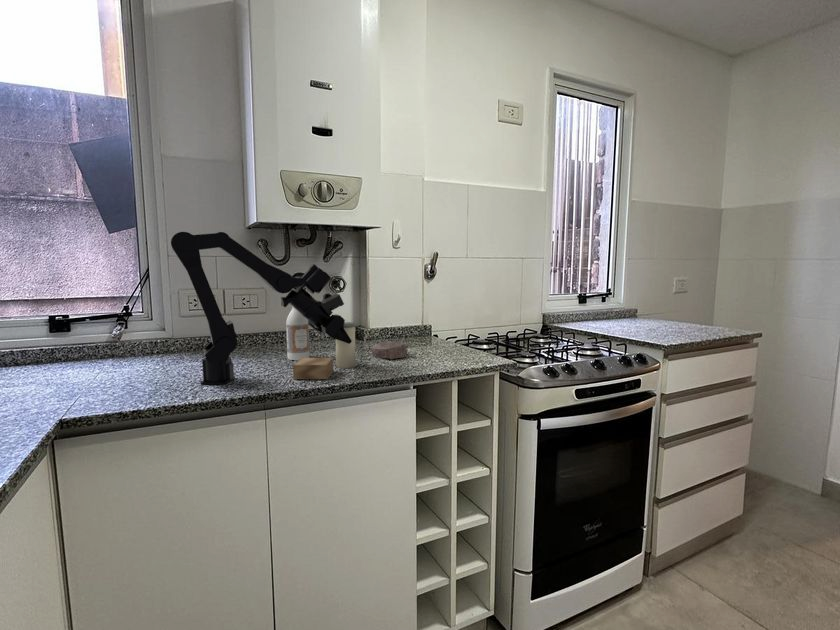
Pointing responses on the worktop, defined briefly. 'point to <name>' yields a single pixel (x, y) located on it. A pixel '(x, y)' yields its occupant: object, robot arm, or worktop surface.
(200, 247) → the robot arm
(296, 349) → the bath foam
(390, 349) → the stone
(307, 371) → the walnut box
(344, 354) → the tea tin
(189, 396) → the worktop surface
